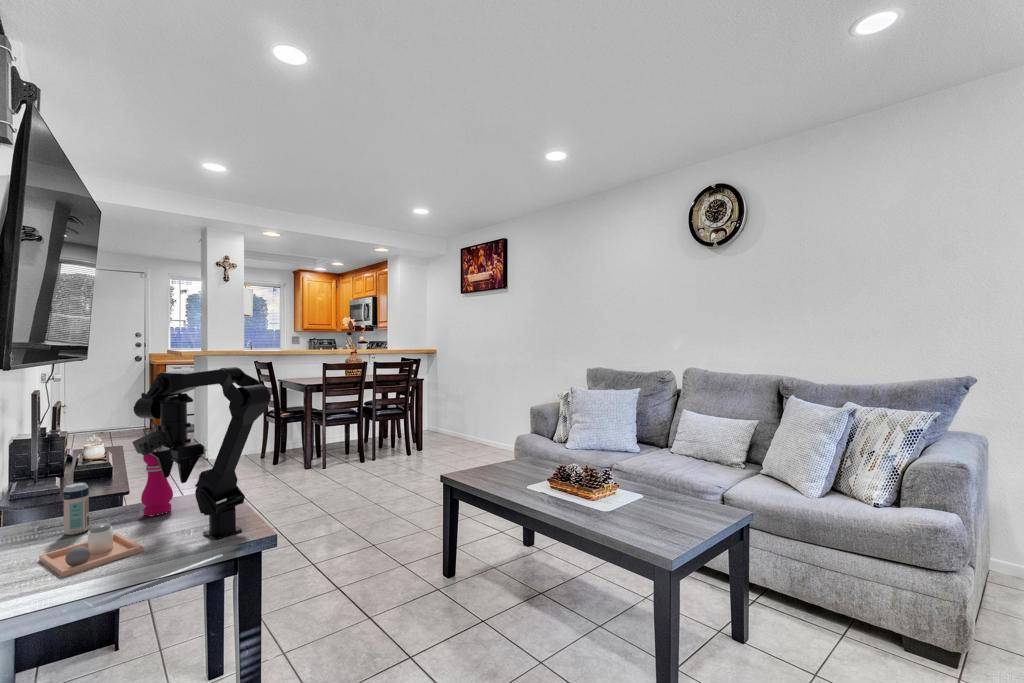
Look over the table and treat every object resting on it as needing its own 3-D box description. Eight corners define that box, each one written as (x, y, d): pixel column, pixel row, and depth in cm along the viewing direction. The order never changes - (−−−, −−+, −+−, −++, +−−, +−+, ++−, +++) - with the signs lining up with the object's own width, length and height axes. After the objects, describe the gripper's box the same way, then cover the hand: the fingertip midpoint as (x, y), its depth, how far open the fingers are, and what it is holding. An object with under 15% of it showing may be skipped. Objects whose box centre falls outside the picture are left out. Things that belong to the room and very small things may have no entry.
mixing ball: (93, 564, 105) (93, 545, 105) (69, 572, 102) (69, 552, 101) (86, 559, 107) (86, 541, 107) (62, 567, 104) (62, 548, 104)
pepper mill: (156, 518, 132) (155, 444, 132) (134, 516, 134) (133, 443, 133) (179, 508, 139) (178, 438, 139) (158, 507, 141) (157, 437, 140)
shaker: (116, 549, 112) (116, 524, 112) (92, 556, 109) (92, 531, 108) (108, 544, 115) (108, 521, 115) (84, 551, 111) (84, 527, 111)
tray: (143, 553, 111) (143, 546, 111) (62, 579, 99) (62, 571, 99) (117, 539, 119) (117, 532, 119) (39, 562, 107) (39, 555, 107)
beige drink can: (81, 527, 126) (80, 481, 126) (93, 529, 125) (93, 483, 124) (59, 534, 122) (58, 486, 121) (71, 537, 120) (70, 488, 120)
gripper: (120, 421, 124) (121, 482, 125) (154, 428, 115) (155, 495, 115) (169, 415, 134) (170, 471, 134) (205, 421, 124) (206, 482, 124)
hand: (174, 480), depth 127 cm, fingers open, 9 cm apart
